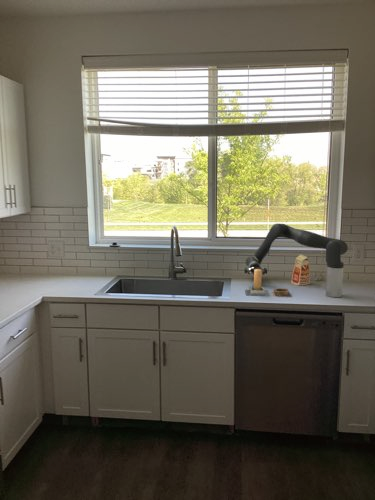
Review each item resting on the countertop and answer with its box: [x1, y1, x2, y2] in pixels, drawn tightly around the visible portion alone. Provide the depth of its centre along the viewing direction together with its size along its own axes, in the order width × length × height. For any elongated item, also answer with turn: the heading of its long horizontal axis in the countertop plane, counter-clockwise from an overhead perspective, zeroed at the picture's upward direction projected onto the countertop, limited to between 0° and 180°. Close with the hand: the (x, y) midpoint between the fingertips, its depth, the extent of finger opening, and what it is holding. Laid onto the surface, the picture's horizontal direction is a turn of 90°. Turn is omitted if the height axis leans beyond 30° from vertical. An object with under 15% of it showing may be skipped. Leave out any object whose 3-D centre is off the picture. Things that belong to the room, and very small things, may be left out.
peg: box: [253, 269, 263, 290], centre depth 248 cm, size 4×4×14 cm
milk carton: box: [290, 253, 311, 286], centre depth 275 cm, size 9×9×20 cm
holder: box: [271, 287, 292, 298], centre depth 246 cm, size 10×10×4 cm
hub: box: [244, 286, 271, 297], centre depth 249 cm, size 14×14×4 cm
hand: (256, 273), depth 258 cm, fingers open, 8 cm apart
